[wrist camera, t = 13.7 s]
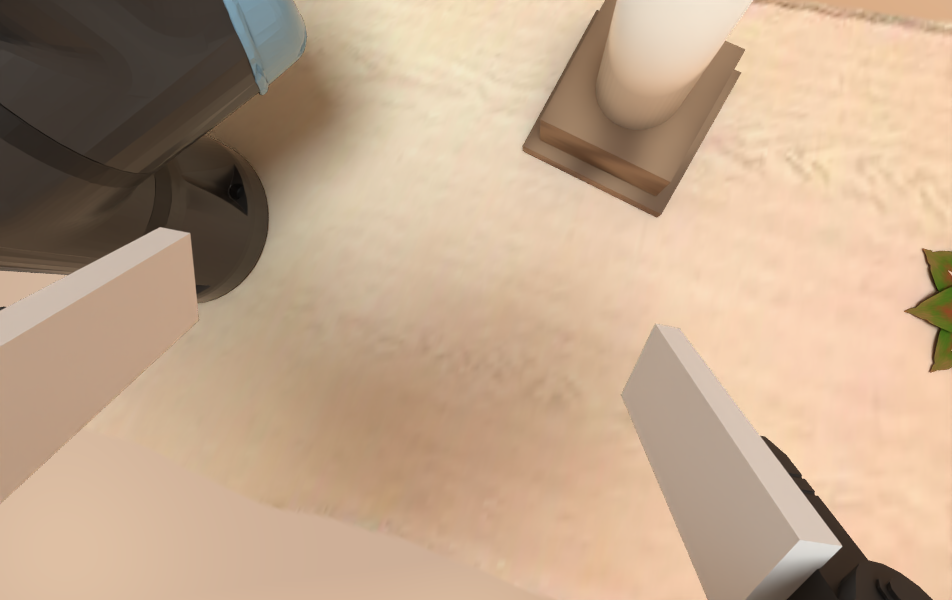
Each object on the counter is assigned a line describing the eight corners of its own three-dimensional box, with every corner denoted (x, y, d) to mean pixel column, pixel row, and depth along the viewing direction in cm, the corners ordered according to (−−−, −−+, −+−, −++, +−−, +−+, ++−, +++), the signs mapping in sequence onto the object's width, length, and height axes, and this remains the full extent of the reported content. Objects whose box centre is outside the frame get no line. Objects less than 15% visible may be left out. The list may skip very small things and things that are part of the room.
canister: (580, 108, 31) (611, -40, 18) (620, 30, 31) (681, -178, 18) (660, 143, 30) (754, 15, 17) (702, 63, 30) (830, -129, 17)
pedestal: (523, 151, 36) (521, 125, 31) (594, 19, 36) (603, -27, 31) (657, 217, 35) (677, 201, 30) (734, 80, 34) (767, 42, 29)
